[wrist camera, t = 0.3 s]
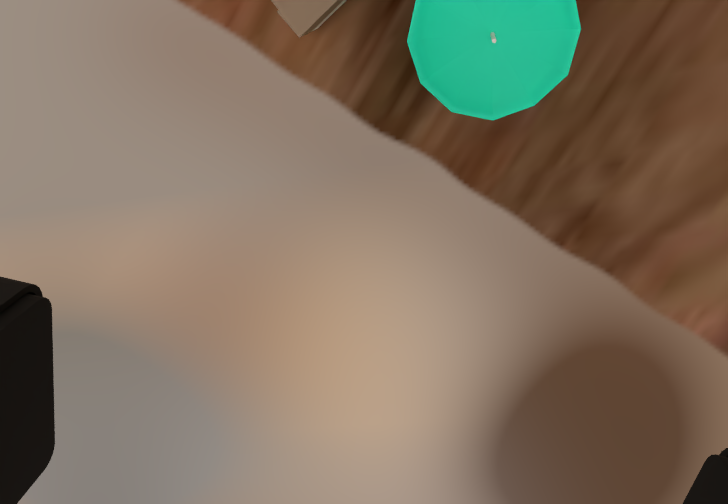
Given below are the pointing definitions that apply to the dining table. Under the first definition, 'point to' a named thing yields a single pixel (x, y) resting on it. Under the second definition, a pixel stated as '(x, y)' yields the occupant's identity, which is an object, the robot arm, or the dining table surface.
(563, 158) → the dining table surface
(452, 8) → the candle
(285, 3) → the jig board
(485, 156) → the dining table surface
